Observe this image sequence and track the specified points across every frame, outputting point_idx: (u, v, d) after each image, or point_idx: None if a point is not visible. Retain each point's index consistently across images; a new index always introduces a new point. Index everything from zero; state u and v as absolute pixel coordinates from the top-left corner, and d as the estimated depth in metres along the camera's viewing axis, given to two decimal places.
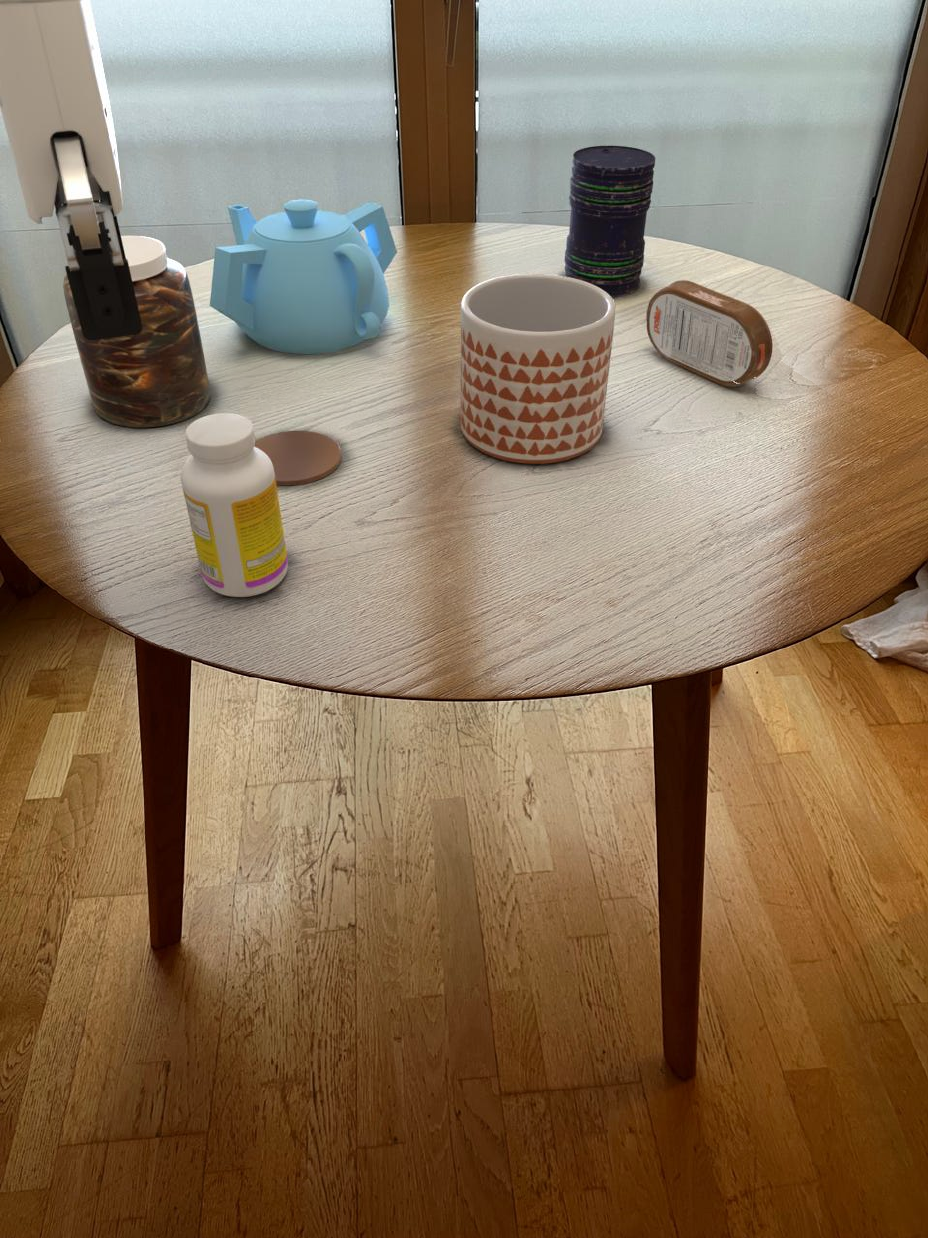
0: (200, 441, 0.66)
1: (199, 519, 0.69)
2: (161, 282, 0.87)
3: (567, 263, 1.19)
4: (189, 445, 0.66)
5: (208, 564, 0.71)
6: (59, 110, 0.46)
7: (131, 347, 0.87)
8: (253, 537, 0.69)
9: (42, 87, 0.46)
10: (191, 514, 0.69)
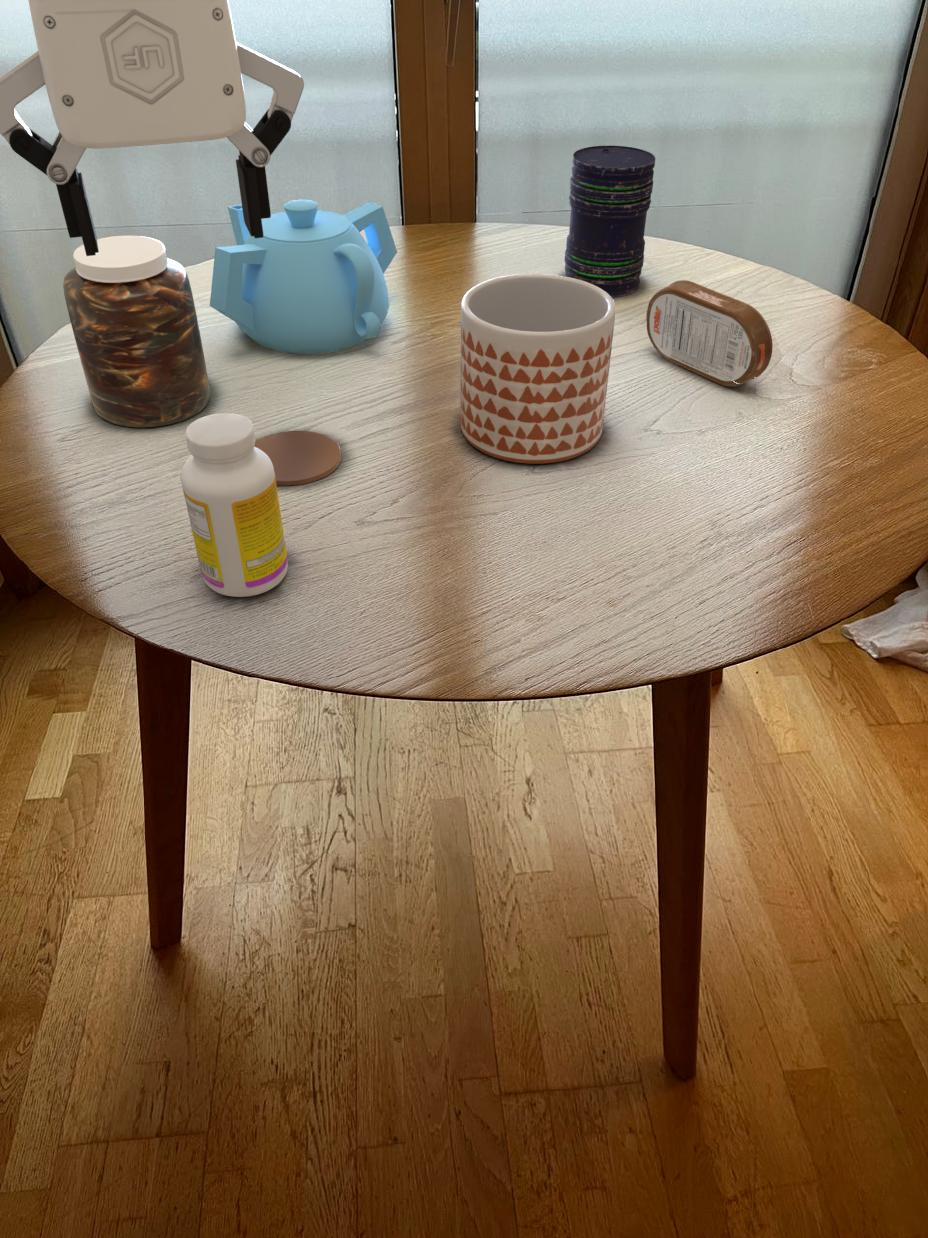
0: (200, 441, 0.66)
1: (199, 519, 0.69)
2: (161, 282, 0.87)
3: (567, 263, 1.19)
4: (189, 445, 0.66)
5: (208, 564, 0.71)
6: None
7: (131, 347, 0.87)
8: (253, 537, 0.69)
9: None
10: (191, 514, 0.69)
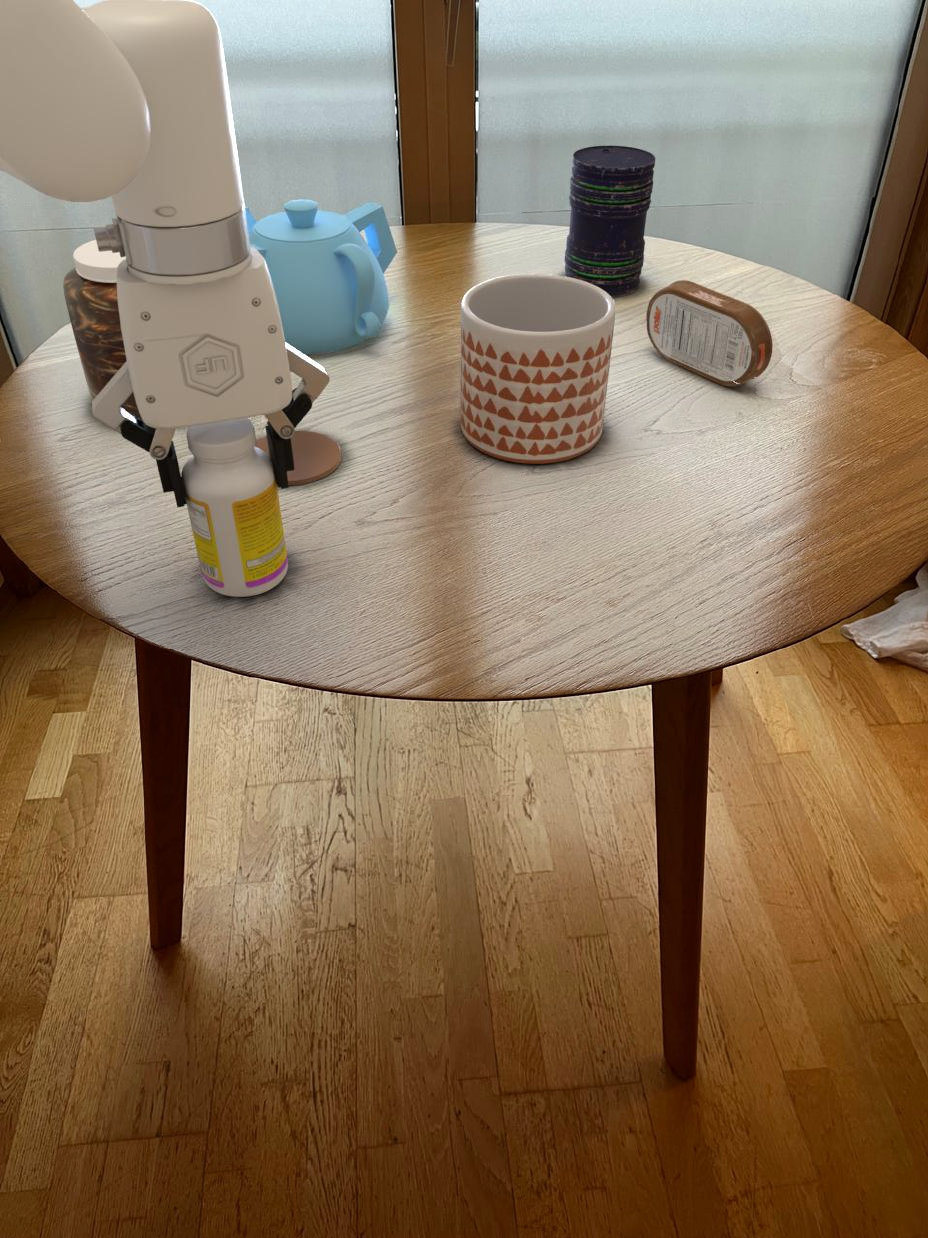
0: (201, 440, 0.66)
1: (200, 519, 0.69)
2: None
3: (567, 263, 1.19)
4: (190, 445, 0.66)
5: (208, 564, 0.71)
6: None
7: None
8: (253, 536, 0.70)
9: None
10: (191, 514, 0.69)
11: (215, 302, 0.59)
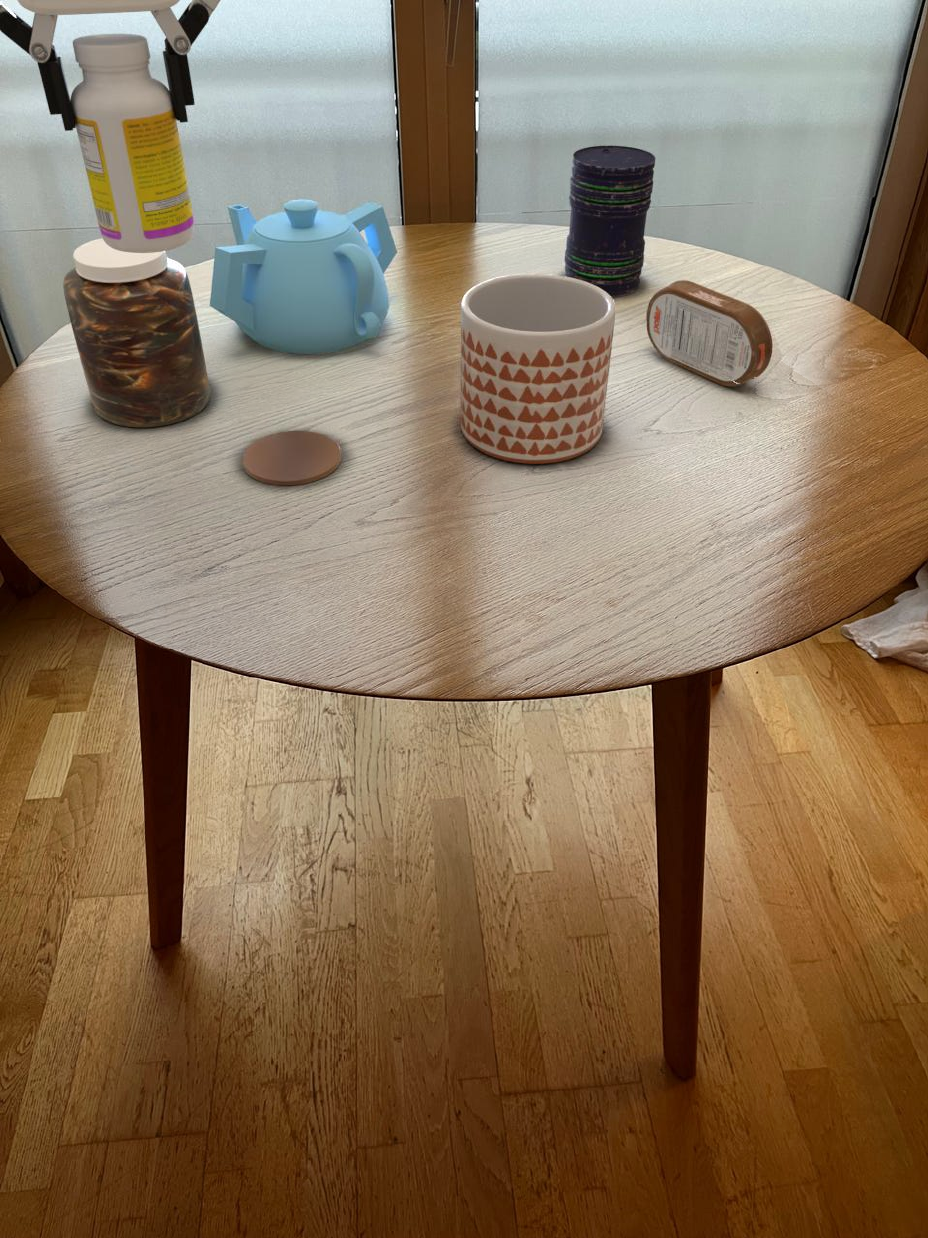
0: (86, 43, 0.61)
1: (90, 146, 0.64)
2: (161, 282, 0.87)
3: (567, 263, 1.19)
4: (76, 52, 0.62)
5: (103, 209, 0.67)
6: None
7: (131, 347, 0.87)
8: (149, 171, 0.65)
9: None
10: (82, 143, 0.64)
11: None
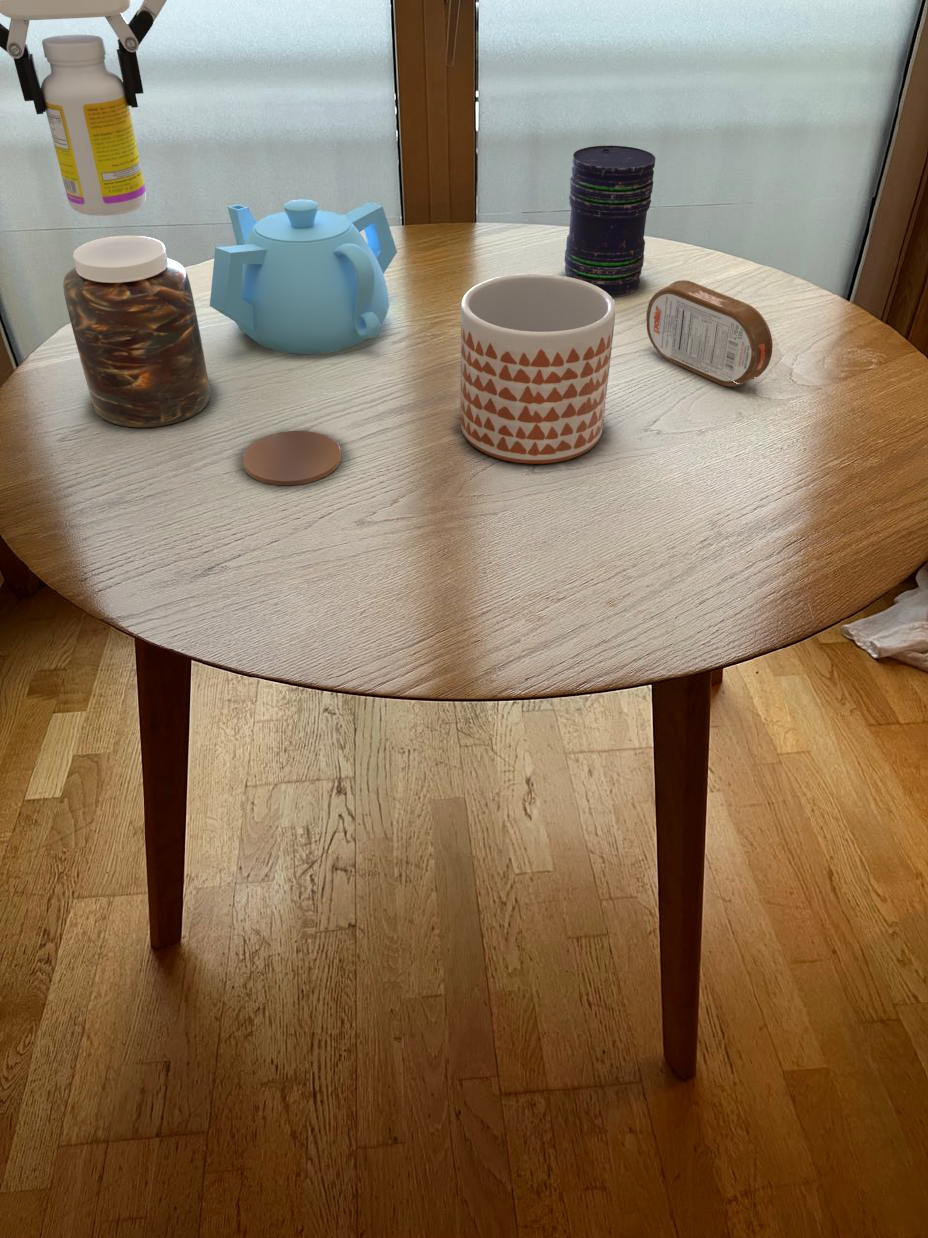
0: (53, 42, 0.75)
1: (57, 126, 0.78)
2: (161, 282, 0.87)
3: (567, 263, 1.19)
4: (44, 49, 0.76)
5: (69, 179, 0.81)
6: None
7: (131, 347, 0.87)
8: (106, 146, 0.79)
9: None
10: (51, 124, 0.79)
11: None
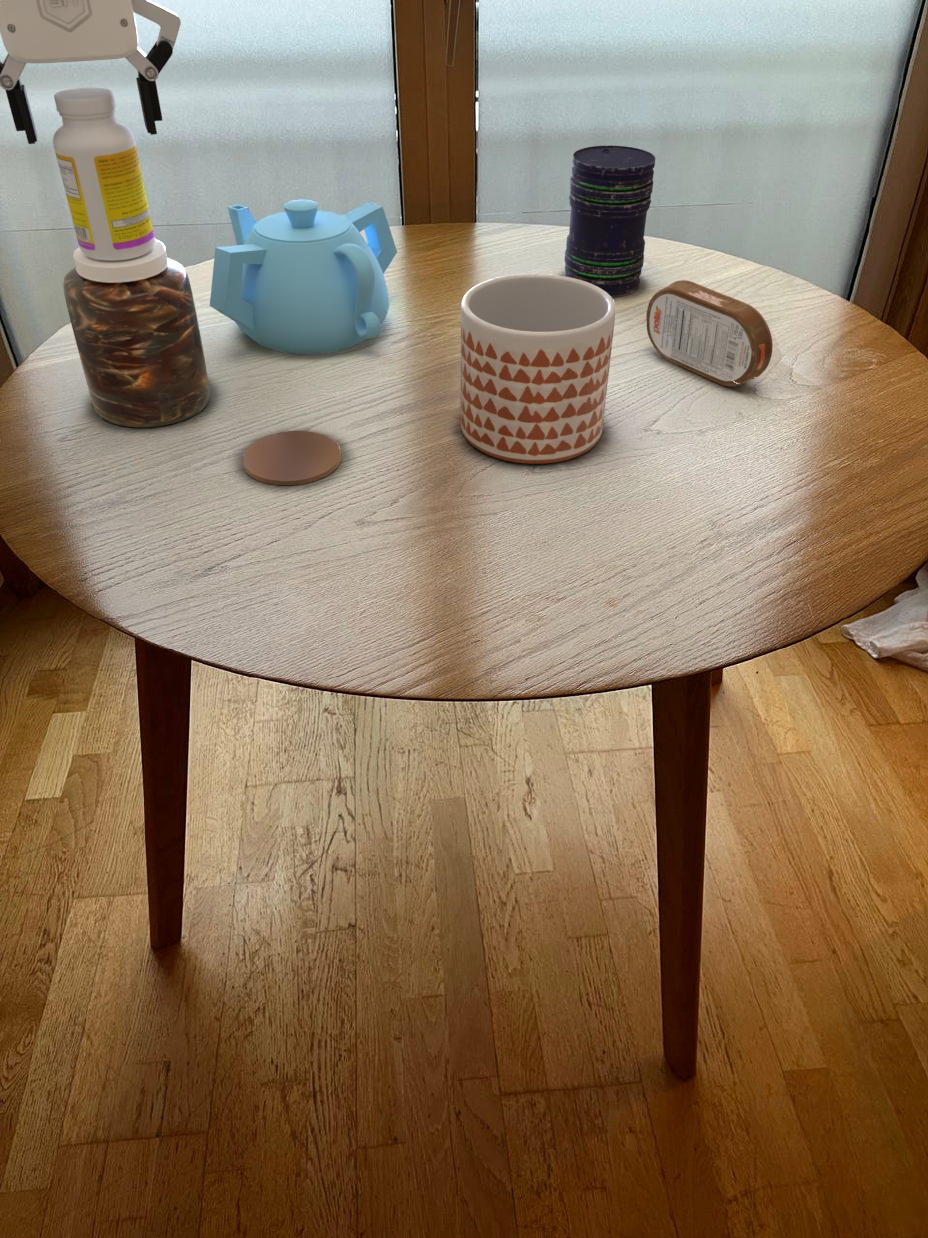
0: (65, 97, 0.78)
1: (69, 176, 0.81)
2: (161, 282, 0.87)
3: (567, 263, 1.19)
4: (56, 104, 0.78)
5: (80, 226, 0.83)
6: None
7: (131, 347, 0.87)
8: (116, 195, 0.82)
9: None
10: (63, 174, 0.81)
11: None
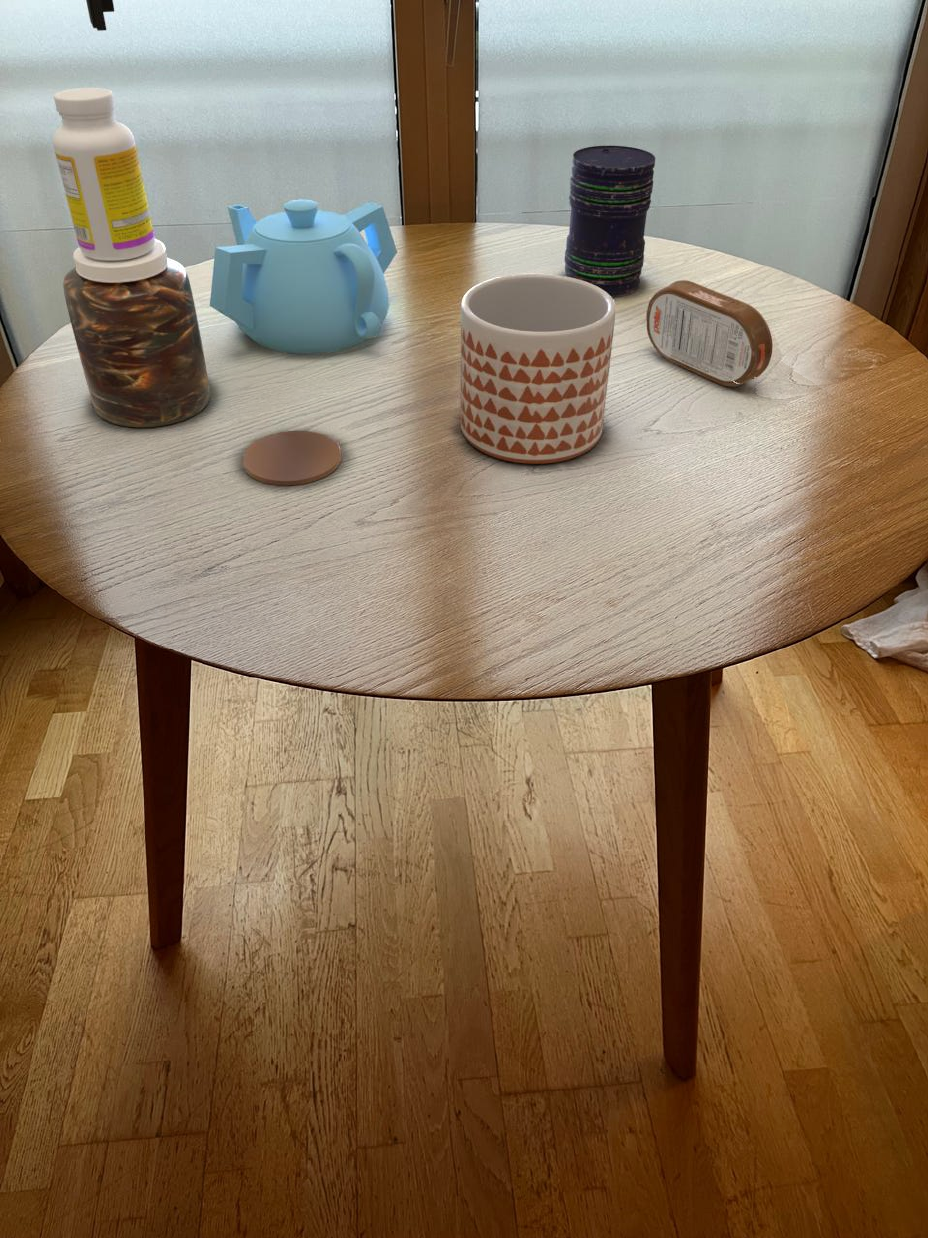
0: (64, 97, 0.78)
1: (69, 176, 0.81)
2: (161, 282, 0.87)
3: (567, 263, 1.19)
4: (56, 104, 0.78)
5: (80, 226, 0.83)
6: None
7: (131, 347, 0.87)
8: (116, 195, 0.82)
9: None
10: (62, 174, 0.81)
11: None
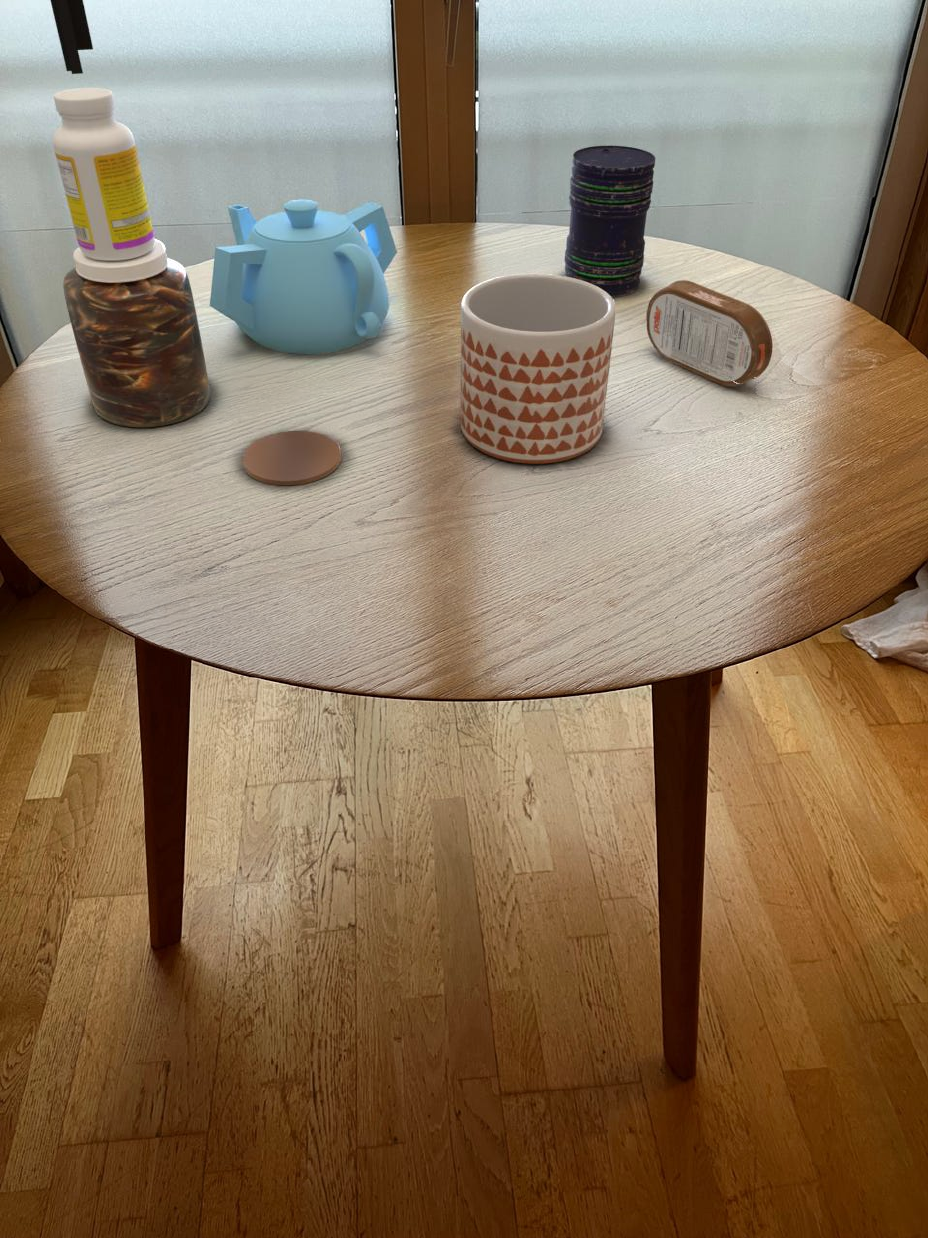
0: (64, 97, 0.78)
1: (69, 176, 0.81)
2: (161, 281, 0.87)
3: (567, 263, 1.19)
4: (56, 104, 0.78)
5: (80, 226, 0.83)
6: None
7: (131, 347, 0.87)
8: (116, 195, 0.82)
9: None
10: (62, 174, 0.81)
11: None
